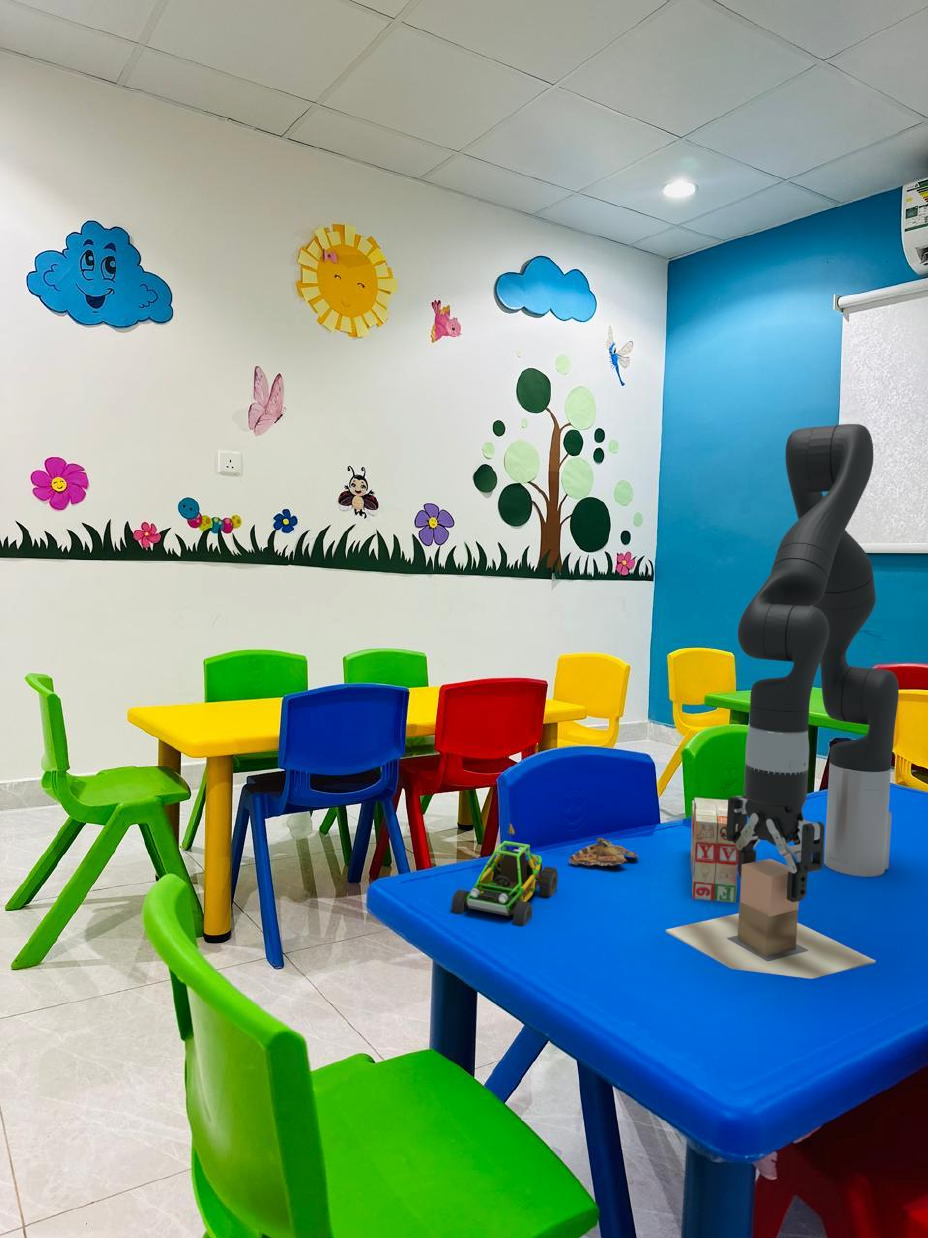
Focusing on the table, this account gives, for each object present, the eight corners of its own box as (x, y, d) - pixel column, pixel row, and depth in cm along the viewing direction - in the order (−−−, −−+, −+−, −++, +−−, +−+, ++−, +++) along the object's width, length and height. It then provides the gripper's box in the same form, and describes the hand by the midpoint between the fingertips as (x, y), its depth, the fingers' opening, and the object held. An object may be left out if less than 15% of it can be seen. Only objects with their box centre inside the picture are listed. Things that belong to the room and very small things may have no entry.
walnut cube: (767, 933, 118) (769, 896, 118) (795, 949, 113) (797, 911, 113) (737, 939, 116) (739, 902, 116) (765, 956, 111) (767, 917, 111)
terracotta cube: (768, 895, 118) (769, 858, 117) (798, 909, 114) (800, 871, 113) (740, 902, 116) (741, 864, 115) (769, 916, 111) (771, 877, 111)
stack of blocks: (689, 853, 152) (692, 782, 151) (727, 857, 151) (731, 785, 150) (692, 901, 131) (695, 819, 130) (736, 906, 130) (740, 823, 129)
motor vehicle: (450, 920, 123) (451, 852, 123) (497, 878, 140) (499, 817, 139) (522, 935, 119) (524, 865, 118) (562, 889, 135) (564, 827, 135)
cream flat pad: (765, 914, 127) (766, 906, 127) (875, 968, 111) (875, 960, 111) (665, 937, 119) (665, 929, 119) (768, 999, 103) (768, 990, 103)
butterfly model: (567, 862, 145) (567, 844, 145) (601, 843, 155) (601, 826, 155) (616, 874, 140) (616, 854, 140) (647, 854, 150) (648, 836, 150)
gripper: (844, 773, 108) (836, 905, 110) (756, 748, 121) (750, 866, 122) (799, 779, 105) (792, 915, 106) (713, 753, 118) (708, 874, 119)
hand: (770, 889), depth 114 cm, fingers open, 7 cm apart
